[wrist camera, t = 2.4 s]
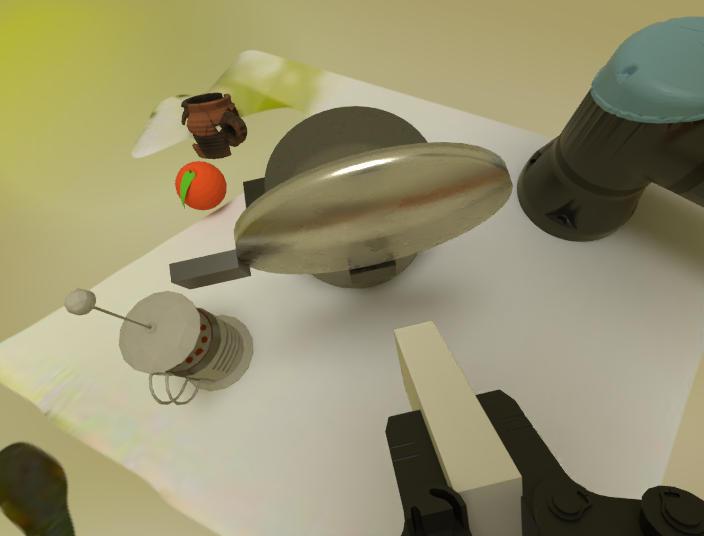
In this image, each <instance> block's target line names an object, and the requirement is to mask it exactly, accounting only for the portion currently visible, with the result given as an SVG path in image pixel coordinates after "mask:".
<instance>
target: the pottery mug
mask: <svg viewBox="0 0 704 536" xmlns="http://www.w3.org/2000/svg"><path fill="white" fill-rule="evenodd" d="M181 107H184V112H183V115H182V121H181V122H182V124H183V125H185V120H186V119H187V118H188V120H187V127H188V130H189V131H190V132H191V133H193V136H194V139H195V140H196V142H197V143H198V144H193V145H192V146H193V148H194V150H195V151H196V153H197V154H198V156H199V157H201V158H208V159H216V158H217V159H219V158H224V157H227V156H230V155H231V152H230V147H229V145H230V146H234V147H236V146H238V145H239V144H240V143H242V142H243V141H244V140H245V139H246V136H247V128H246V125H245V123H244V121H243V120H242V119H241V118H240V117H238V116H239V115H238V111H237V110H236V107H235V104H234V103H232V102H231V96H230V95H229V94H224V97H222V94H221V93H208V94H203V95H198V96H194V97H191V98H188V99H186V100H184V101H183V102H182V105H181ZM227 110H228V111H229V112H227ZM218 125H220V127H221V128H222V129H221V131H220V132H218V130H217V129H216V128H215V126H218Z"/></svg>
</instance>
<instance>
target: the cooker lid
mask: <svg viewBox="0 0 704 536" xmlns="http://www.w3.org/2000/svg"><path fill="white" fill-rule="evenodd" d="M512 187H513V185H512V182H511V179H510V176H509V173H508V170H507V167H506V164H505V162H504V161H503V160H502V159H501V157H500V156H498V155H497V154H495V153H494V152H492V151H490V150H487V149H484V148H482V147H479V146H474V145H468V144H463V143H447V142H436V143H417V144H408V145H399V146H393V147H387V148H382V149H377V150H371V151H367V152H364V153H360V154H356V155H352V156H348V157H345V158H342V159H338V160H335V161H332V162H329V163H326V164H323V165H321V166H318V167H316V168H313V169H311V170H308V171H306V172H303V173H301V174H299V175H297V176H295V177H293V178H291V179H289V180H287V181H285V182H283V183H281V184H279V185H277V186H276V187H274V188H273V189H271V190H269V191H268V192H266V193H264V194H263V195H262V196H261V197H259V198H258V199H257V200H255V201H254V202H253V203H252V204H251V205H250V206H249V207H248V208H247V209H246V210H245V211H244V212H243V213H242V214H241V216H240V217H239V219H238V220H237V222H236V225H235V228H234V240H235V246H236V249H235V250H231V251H226V252H222V253H217V254H213V255H208V256H204V257H199V258H195V259H190V260H186V261H181V262H177V263H172V264H169V266H170V275H171V282H172V283H174V284H177V285H180V286H182V287H185V288H188V289H194V288H199V287H203V286H208V285H212V284H217V283H221V282H226V281H230V280H235V279H239V278H244V277H248V276H251V273H250V267H252V268H254V269H257V270H261V271H265V272H271V273H278V274H318V273H329V272H337V271H344V270H350V269H356V268H361V267H366V266H371V265H375V264H380V263H384V262H388V261H391V260H395V259H399V258H402V257H405V256H409V255H412V254H415V253H418V252H421V251H424V250H426V249H429V248H432V247H434V246H437V245H439V244H442V243H444V242H447V241H449V240H451V239H453V238H455V237H458V236H460V235H461V234H463V233H465V232H467V231H469V230H471V229H473V228H474V227H476V226H478V225H480V224H481V223H483V222H484V221H486V220H487V219H489V218H490V217H491V216H492V215H494V214H495V213H496V212H497V211H498V210H499V209H500V208H502V207H503V206H504V204H505V203H506V202H507V200H508V199H509V197H510V195H511V193H512Z"/></svg>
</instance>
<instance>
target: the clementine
mask: <svg viewBox="0 0 704 536" xmlns="http://www.w3.org/2000/svg"><path fill="white" fill-rule="evenodd" d="M175 186H176V190H177V194H178V195H179V197H180V198H181V201H182V204H183V206H184V207H185V205H184V203H185V204H187V205H188V206H189V207H192V208H194V209H198V210H208V209H211V208H214V207H216V206H217V205H219V204H220V203H221V202H222V200H223V199H224V197H225V194H226V181H225V178H224V176H223V174H222V173H221V172H220V170H218V168H216V167H215V166H214V165H212V164H209V163H206V162H200V161H198V162H191V163H189V164H187V165H185V166H184V167H183V168H181V169H180V171H179V173H178V175H177V177H176V182H175Z"/></svg>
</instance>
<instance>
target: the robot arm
mask: <svg viewBox="0 0 704 536" xmlns="http://www.w3.org/2000/svg"><path fill="white" fill-rule="evenodd" d="M651 182H653V183H655V184H657V185H659V186H661V187H664V188H666V189H668V190H670V191H672V192H674V193H676V194H678V195H680V196H682V197H684V198H686V199H688V200H690V201H692V202H694V203H696V204H698V205H700V206H702V207H704V17H682V18H674V19H670V20H667V21H665V22H658V23H655V24H652V25H649V26H647V27H645V28H643V29H641V30H639V31H637V32H636V33H634V34H633V35H631V36H630V37H629V38H627V39H626V40H625V41H624V42H623V43H622V44H621V45H620V46H619V48H618V49H617V50H616V51H615V53H614V54H613V56H612V57H611V58H610V60H609V61H608V62H607V64H606V65H605V66H604V67H603V68H602V69H601V70H600V71H599V72H598V73H597V75H596V76H595V78H594V80H593V82H592V87H591V89H590V90H589V92H588V93H587V95H586V96H585V98H584V99H583V101H582V102H581V104H580V105H579V107H578V108H577V110H576V111H575V113H574V114H573V116H572V117H571V119H570V120H569V122H568V123H567V125H566V126H565V128H564V130H563V131H562V133H561V134H560V135H559V136H558V137H556V138H555V139H553V140H552V141H551V142H549V143H548V144H546V145H545V146H544V147H542V148H541V149H539V150H538V151H537V152H536V153H534V154H533V155H532V157H531V158H530V159H529V160H528V162H527V163H526V165H525V167H524V168H523V170H522V172H521V174H520V176H519V180H518V186H517V191H518V197H519V201H520V203H521V206H522V208H523V210H524V211H525V213H526V214H527V215H528V217H529V218H530V219H531V220H532V221H533V222H534V223H535V224H536V225H537V226H539V227H540V228H541V229H543V230H544V231H546V232H548V233H550V234H552V235H554V236H557V237H560V238H563V239H567V240H572V241H592V240H597V239H600V238H603V237H605V236H608V235H609V234H611V233H613V232H614V231H615V230H617V229H618V228H619V227H621V226H622V225H623V224H624V223H626V222H627V221H628V219H629V218H630V217H631V216H632V214H633V213H634V211H635V209H636V207H637V204H638V201H639V199H640V198H641V196H642V194H643V192H644V190H645V188H646V186H648V185H649V184H650V183H651ZM394 334H395V340H396V345H397V350H398V355H399V360H400V366H401V371H402V376H403V381H404V386H405V389H406V392H407V395H408V398H409V401H410V404H411V407H412V410H413V411H412V412H407V413H403V414H399V415H395V416H391V417H389V418H388V423H387V427H386V431H385V432H386V437H387V441H388V445H389V450H390V454H391V458H392V462H393V467H394V471H395V475H396V480H397V484H398V488H399V493H400V497H401V501H402V505H403V510H404V517H405V523H404V530H403V532H402V535H401V536H704V501H703V500H701V499H700V498H698V497H696V496H695V495H693V494H691V493H690V492H687V491H685V490H681V489H679V488H676V487H671V486H656V487H653V488H649V489H648V490H647V491H646V492H645V493H644V494H643V496H642V500H637V499H626V498H615V497H607V496H602V495H598V494H595V493H593V492H590V491H588V490H587V489H586V488H584V487H582V486H581V485H579V484H577V483H575V482H574V481H573V480H572V479H570V477H569V476H568V475H567V474H566V473H565V472H564V470H563V469H562V467H561V466H560V464H559V463H558V462H557V460H556V459H555V457H554V456H553V454H552V453H551V452H550V450H549V449H548V447H547V446H546V444H545V443H544V442H543V440H542V439H541V437H540V436H539V434H538V433H537V431H536V430H535V429H534V428H533V427H532V424H531V423H530V421H529V420H528V419H527V417H525V415H524V413H523V411H522V410H521V409H520V407H519V406H518V404H517V403H516V401H515V400H514V399H512V398H511V397H510V396H508V395H507V394H505V393H504V392H502V391H501V390H495V391H491V392H487V393H483V394H479V395H475V394H474V392H473V391H472V389H471V387H470V385H469V384H468V382H467V380H466V378H465V377H464V375H463V373H462V372H461V370H460V368H459V366H458V365H457V363H456V361H455V359H454V358H453V356H452V354H451V352H450V351H449V349H448V347H447V345H446V344H445V342H444V340H443V338H442V337H441V335H440V333H439V331H438V330H437V328H436V326H435V324H434V323H433V321H428V322H424V323H420V324H416V325H411V326H407V327H403V328H399V329H394Z"/></svg>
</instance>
